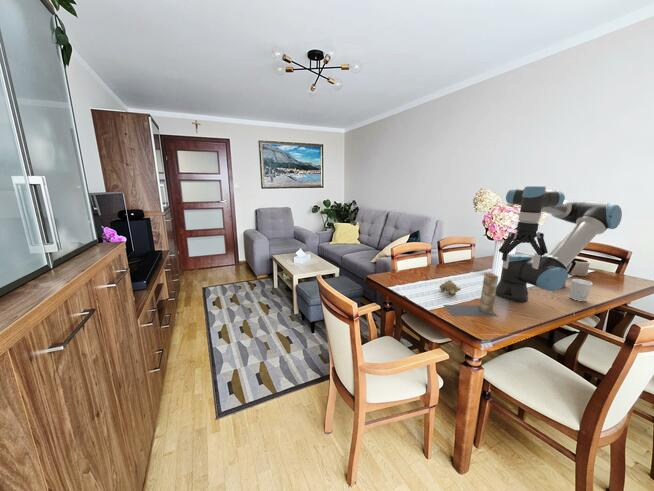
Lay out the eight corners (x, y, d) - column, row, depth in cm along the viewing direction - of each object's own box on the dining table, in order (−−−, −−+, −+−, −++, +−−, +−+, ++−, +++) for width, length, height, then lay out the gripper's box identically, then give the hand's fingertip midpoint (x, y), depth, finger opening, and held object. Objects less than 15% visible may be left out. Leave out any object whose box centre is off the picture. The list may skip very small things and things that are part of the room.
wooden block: (487, 308, 133) (493, 273, 128) (492, 312, 129) (498, 276, 125) (479, 308, 133) (484, 273, 128) (483, 312, 129) (489, 276, 125)
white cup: (573, 295, 150) (577, 277, 147) (591, 301, 142) (595, 283, 140) (564, 297, 147) (568, 279, 144) (581, 303, 140) (586, 285, 137)
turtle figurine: (451, 279, 155) (461, 281, 143) (455, 291, 155) (465, 294, 143) (437, 283, 156) (446, 285, 144) (441, 295, 155) (450, 298, 143)
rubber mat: (485, 306, 136) (485, 305, 136) (498, 317, 126) (498, 316, 125) (443, 305, 137) (443, 304, 137) (452, 316, 126) (452, 315, 126)
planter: (567, 270, 190) (570, 256, 188) (588, 274, 182) (591, 260, 180) (563, 273, 184) (566, 259, 181) (585, 278, 175) (588, 263, 173)
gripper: (550, 220, 124) (541, 265, 129) (494, 220, 124) (487, 265, 129) (564, 223, 116) (553, 271, 122) (504, 222, 117) (496, 270, 122)
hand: (519, 268), depth 125 cm, fingers open, 13 cm apart
